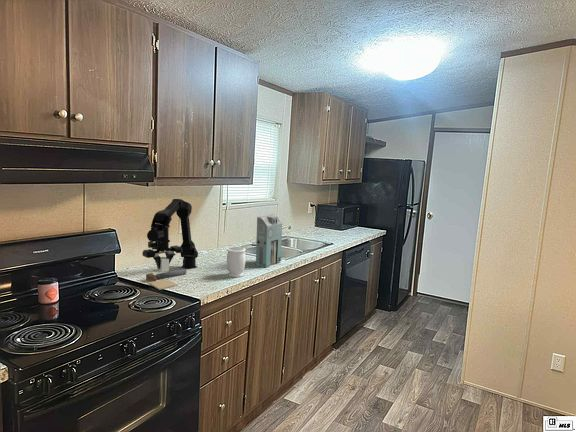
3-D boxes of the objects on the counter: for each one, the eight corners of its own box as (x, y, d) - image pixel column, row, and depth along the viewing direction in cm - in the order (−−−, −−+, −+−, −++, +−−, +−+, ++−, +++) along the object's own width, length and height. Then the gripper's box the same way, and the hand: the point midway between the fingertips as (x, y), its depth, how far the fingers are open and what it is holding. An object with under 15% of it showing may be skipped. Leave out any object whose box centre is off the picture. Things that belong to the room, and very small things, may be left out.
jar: (239, 279, 216) (240, 251, 214) (222, 276, 220) (223, 249, 218) (248, 274, 226) (249, 248, 224) (232, 271, 230) (232, 245, 227)
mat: (166, 279, 210) (166, 278, 210) (177, 285, 201) (177, 284, 201) (148, 283, 203) (148, 282, 203) (159, 289, 194) (159, 288, 194)
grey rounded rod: (184, 273, 223) (184, 268, 223) (187, 274, 221) (187, 269, 221) (154, 279, 211) (154, 273, 210) (156, 280, 209) (156, 275, 208)
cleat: (151, 278, 211) (151, 273, 210) (156, 281, 207) (156, 275, 207) (146, 279, 209) (146, 274, 208) (150, 282, 205) (150, 276, 205)
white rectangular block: (164, 268, 204) (164, 256, 203) (169, 270, 201) (169, 258, 200) (156, 269, 201) (156, 258, 201) (161, 271, 198) (161, 260, 197)
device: (266, 268, 240) (267, 218, 235) (255, 265, 244) (256, 217, 239) (280, 262, 253) (282, 215, 249) (270, 260, 257) (272, 214, 253)
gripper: (171, 232, 211) (172, 261, 213) (137, 237, 198) (137, 267, 200) (182, 236, 203) (182, 266, 205) (147, 241, 190) (147, 272, 192)
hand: (162, 268), depth 201 cm, fingers closed on white rectangular block, 4 cm apart
